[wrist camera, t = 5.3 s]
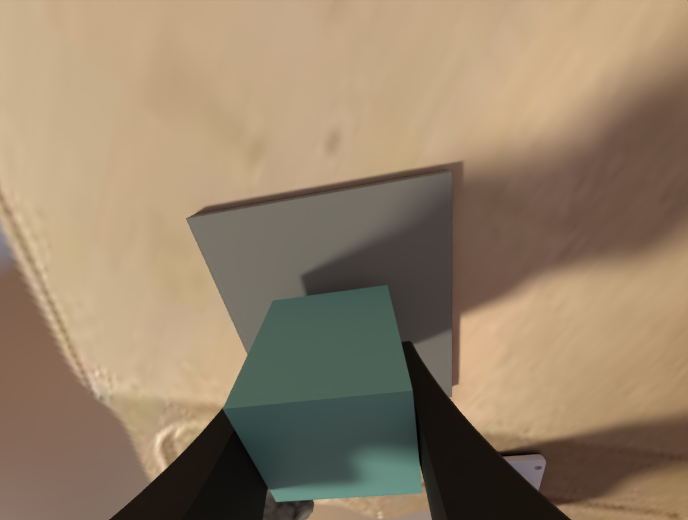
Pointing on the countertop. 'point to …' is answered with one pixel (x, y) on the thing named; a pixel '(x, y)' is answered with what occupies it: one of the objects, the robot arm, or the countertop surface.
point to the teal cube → (329, 399)
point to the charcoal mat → (342, 256)
